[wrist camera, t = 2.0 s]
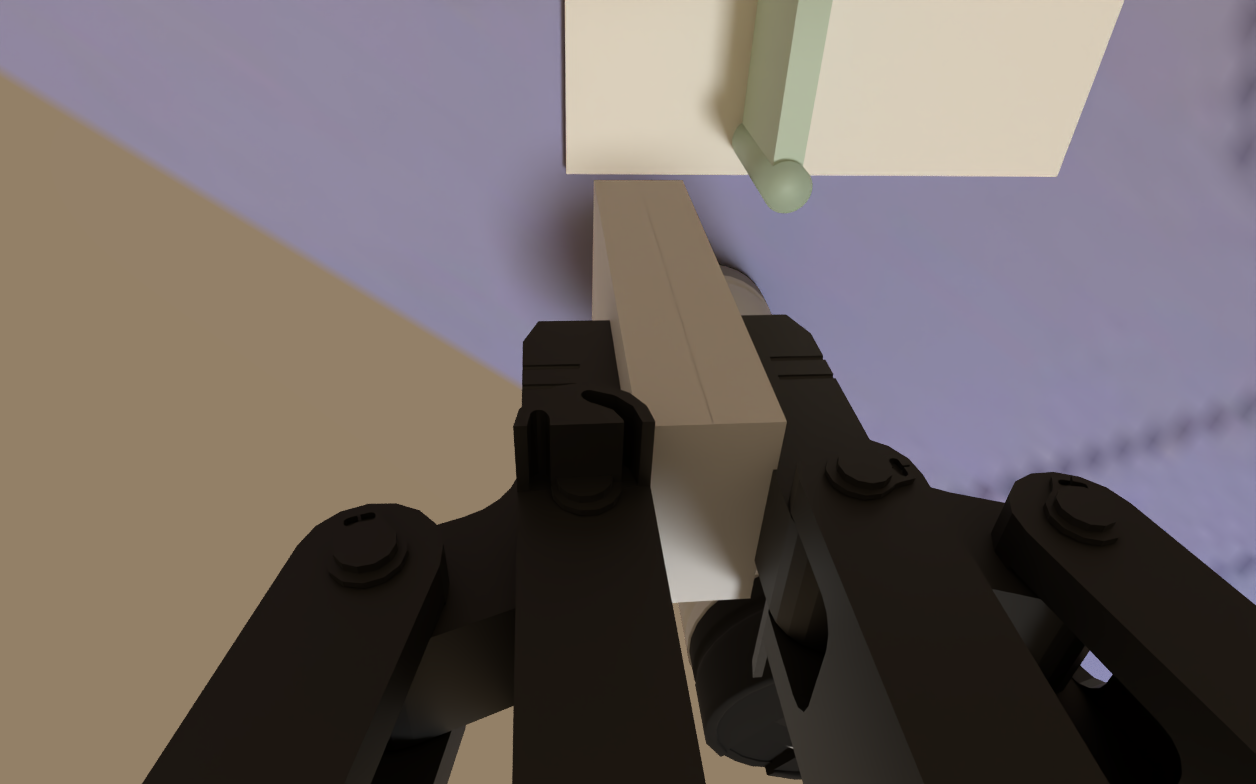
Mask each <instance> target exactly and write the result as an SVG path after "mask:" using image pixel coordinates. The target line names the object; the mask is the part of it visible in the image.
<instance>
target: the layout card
mask: <svg viewBox="0 0 1256 784" xmlns="http://www.w3.org/2000/svg"><path fill="white" fill-rule="evenodd" d="M757 2H758V0H565V105H566V174H669V175H748V173H747V171H746V170H745V168H744V166H743V165H742V163H741V162H740V160H739V158H738V157H737V155H736V153H735V152H734V150H733V146H732V138H733V134H734V132H735V130H736V129H737V127H738V126H739V125H740V124H741V123H742V121H743V113H744V105H745V97H746V89H747V81H748V73H749V65H750V57H751V49H752V42H753V34H754V26H755V18H756V10H757ZM1123 2H1124V0H833V2H832V7H831V13H830V18H829V24H828V30H827V35H826V41H825V46H824V52H823V58H822V63H821V69H820V74H819V80H818V85H817V91H816V97H815V102H814V108H813V113H812V119H811V125H810V130H809V136H808V141H807V147H806V153H805V158H804V164H803V167H804V168H805V170H806V171H807V172H808V173H809V175H849V176H1029V177H1057V175H1058V173H1059V170H1060V167H1061V165H1062V162H1063V159H1064V157H1065V154H1066V152H1067V149H1068V146H1069V144H1070V141H1071V139H1072V136H1073V133H1074V131H1075V128H1076V125H1077V123H1078V120H1079V118H1080V115H1081V112H1082V110H1083V107H1084V104H1085V102H1086V99H1087V97H1088V94H1089V91H1090V89H1091V86H1092V84H1093V81H1094V78H1095V76H1096V73H1097V70H1098V68H1099V65H1100V63H1101V60H1102V57H1103V55H1104V52H1105V50H1106V47H1107V44H1108V42H1109V39H1110V36H1111V34H1112V31H1113V29H1114V26H1115V23H1116V21H1117V18H1118V16H1119V13H1120V10H1121V8H1122V5H1123Z"/></svg>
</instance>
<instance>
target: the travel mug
mask: <svg viewBox="0 0 1256 784" xmlns="http://www.w3.org/2000/svg"><path fill="white" fill-rule="evenodd" d="M719 266H720V268H721V271H722V273H723V275H724V278H725V280H726V282H727V284H728V287H729V289H730V291H731V294H732V296H733V298H734V301H735V303H736V305H737V308H738V310H739V312H740V314H741V315H772V314H771V312H770V309H769V307H768V305H767V303H766V301H765V299H764V297H763V295H762V294H761V292H760V290H759V289H758V287H757V286H756V285H755V284H754V283H753V282H752V281H751V280H750V279H749V278H748V277H747V276H745V275H744V274H742V273H741V272H739V271H737V270H734V269H732V268H729V267H727V266H722V265H719ZM765 602H766V597H765V594H764V591H763V587H762V584H761V581H760V578H759V574H758V571H757V568H756V573H755V577H754V582H753V587H752V592H751V596H750V598H747V599H729V600H712V601H695V602H678V603H679V609H680V615H681V620H682V626H683V630H684V635H685V643H686V647H687V653H688V658H689V663H690V665H691V666H692V669H693V674H694V679H695V682H696V684H695V686H696V691H697V696H698V702H699V707H700V713H701V718H702V723H703V729H704V735H705V740H706V744H707V745H709V746H710V747H711V748H712V749H713V750H714V751H715V752H716V753H717V754H718V755H719V756H724V755H725V756H727V757H729V758H731V759H733V760H735V761H737V762H740V763H744V764H747V765H750V766H760V767H765V768H766V773H767V775H769V776H776V777H782V778H788V779H802V778H801V774H800V770H799V767H798V763H797V760H796V756H795V753H794V749H793V746H792V742H791V739H790V735H789V732H788V728H787V725H786V721H785V717H784V714H783V710H782V707H781V703H780V700H779V696H778V693H777V689H776V686H775V682H774V679H773V675H772V671H771V668H770V664H769V661H768V657H767V659H766V663H765V667H764V671H763V675H762V677H754V678H753V668H752V659H753V655H754V650H755V646H756V641H757V637H758V633H759V628H760V624H761V619H762V615H763V611H764V606H765Z"/></svg>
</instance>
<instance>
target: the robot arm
mask: <svg viewBox="0 0 1256 784" xmlns="http://www.w3.org/2000/svg"><path fill="white" fill-rule="evenodd" d="M513 430H514V446H515V462H516V477H517V478H516V480H515V482H514V484H513V485H512V487H511V488H510V489H509V490H508V491H507V492H506V493H505V494H504V495H503V496H502V497H501V498H500V499H499V500H497V501H496V502H494V503H493V504H491V505H490V506H488V507H486V508H485V509H483V510H481V511H478V512H476V513H473V514H470V515H468V516H465V517H462V518H459V519H456V520H452V521H449V522H445V523H442V524H438V525H436V524H435V523H434V522H433V521H432V520H431V519H429V518H428V517H427V516H426V515H424V514H423V513H422V512H421V511H420V510H416V509H413V508H410V507H406V506H403V505H399V504H366V505H363V506H359V507H356V508H352V509H348V510H345V511H341V512H339V513H338V514H336V515H334V516H332V517H331V518H329V519H327V520H325V521H324V522H322V523H320V524H319V525H317V526H315V527H314V528H313V529H312V530H311V532H310V533H309V534H308V535H307V536H306V537H305V538H304V539H303V540H302V541H301V542H300V543H299V544H298V545H297V547H296V548H295V550H294V551H293V553H292V555H291V556H290V558H289V559H288V561H287V562H286V564H285V565H284V567H283V568H282V570H281V571H280V573H279V574H278V576H277V578H276V579H275V581H274V582H273V584H272V585H271V587H270V588H269V590H268V591H267V593H266V594H265V596H264V597H263V599H262V600H261V602H260V604H259V605H258V607H257V608H256V610H255V611H254V613H253V614H252V616H251V617H250V619H249V620H248V622H247V624H246V625H245V627H244V628H243V630H242V631H241V633H240V634H239V636H238V637H237V639H236V641H235V642H234V643H233V645H232V647H231V648H230V650H229V651H228V653H227V654H226V656H225V657H224V659H223V660H222V662H221V663H220V665H219V666H218V668H217V670H216V671H215V673H214V674H213V676H212V677H211V679H210V680H209V682H208V683H207V685H206V686H205V688H204V690H203V691H202V693H201V694H200V696H199V697H198V699H197V700H196V702H195V703H194V705H193V707H192V708H191V709H190V711H189V713H188V714H187V716H186V717H185V719H184V720H183V722H182V723H181V725H180V726H179V728H178V729H177V731H176V732H175V734H174V736H173V737H172V739H171V740H170V742H169V743H168V745H167V746H166V748H165V749H164V751H163V752H162V754H161V756H160V757H159V759H158V760H157V762H156V763H155V765H154V766H153V768H152V769H151V771H150V772H149V774H148V775H147V777H146V779H145V780H144V782H143V783H142V784H447V783H448V779H449V777H450V773H451V770H452V767H453V764H454V761H455V758H456V755H457V752H458V749H459V746H460V743H461V740H462V737H463V734H464V731H465V726H466V725H467V724H469V723H472V722H474V721H477V720H479V719H482V718H484V717H487V716H489V715H492V714H494V713H497V712H499V711H502V710H504V709H507V708H509V707H511V706H514V718H513V776H512V780H513V781H512V784H706V783H705V778H704V772H703V767H702V761H701V756H700V750H699V745H698V739H697V734H696V729H695V724H694V718H693V713H692V707H691V702H690V697H689V691H688V686H687V680H686V675H685V670H684V664H683V659H682V653H681V648H680V643H679V638H678V632H677V627H676V621H675V617H674V610H673V605H672V603H677V602H695V601H712V600H729V599H747V598H750V596H751V592H752V587H753V582H754V577H755V573H756V568H757V571H758V574H759V578H760V581H761V584H762V587H763V591H764V594H765V597H766V602H765V606H764V611H763V615H762V619H761V624H760V628H759V633H758V637H757V641H756V646H755V650H754V655H753V659H752V668H753V678H754V677H762V675H763V671H764V667H765V663H766V659H767V657H768V661H769V664H770V668H771V671H772V675H773V679H774V682H775V686H776V689H777V693H778V696H779V700H780V703H781V707H782V710H783V714H784V717H785V721H786V725H787V728H788V732H789V735H790V739H791V742H792V746H793V749H794V753H795V756H796V760H797V763H798V767H799V770H800V774H801V778H802V781H803V784H1256V605H1255V604H1253V603H1252V602H1251V601H1250V600H1249V599H1247V598H1246V597H1245V596H1244V595H1242V594H1241V593H1240V592H1239V591H1238V590H1236V589H1235V588H1234V587H1233V586H1231V585H1230V584H1229V583H1228V582H1227V581H1225V580H1224V579H1223V578H1222V577H1220V576H1219V575H1218V574H1217V573H1215V572H1214V571H1213V570H1212V569H1211V568H1209V567H1208V566H1207V565H1206V564H1204V563H1203V562H1202V561H1201V560H1200V559H1198V558H1197V557H1196V556H1195V555H1193V554H1192V553H1191V552H1190V551H1189V550H1187V549H1186V548H1185V547H1184V546H1182V545H1181V544H1180V543H1179V542H1177V541H1176V540H1175V539H1174V538H1173V537H1171V536H1170V535H1169V534H1168V533H1166V532H1165V531H1164V530H1163V529H1162V528H1160V527H1159V526H1158V525H1157V524H1155V523H1154V522H1153V521H1152V520H1151V519H1149V518H1148V517H1147V516H1146V515H1144V514H1143V513H1142V512H1141V511H1140V510H1138V509H1137V508H1136V507H1135V506H1133V505H1132V504H1131V503H1129V502H1128V501H1126V500H1125V499H1123V498H1122V497H1120V496H1119V495H1117V494H1116V493H1114V492H1113V491H1111V490H1109V489H1108V488H1106V487H1104V486H1101V485H1099V484H1096V483H1094V482H1091V481H1089V480H1086V479H1084V478H1081V477H1078V476H1072V475H1067V474H1061V473H1056V472H1047V473H1033V474H1029V475H1027V476H1025V477H1023V478H1021V479H1019V480H1017V481H1015V483H1014V485H1013V487H1012V489H1011V491H1010V493H1009V495H1008V497H1007V500H1006V502H1005V503H1002V502H997V501H992V500H987V499H981V498H976V497H971V496H966V495H960V494H955V493H950V492H946V491H942V490H939V489H935V488H931V487H930V486H929V484H928V482H927V481H926V479H925V477H924V476H923V474H922V473H921V472H920V471H919V470H918V469H917V468H916V466H915V465H914V464H913V463H912V462H911V461H910V460H909V459H908V458H907V457H905V456H904V455H902V454H900V453H899V452H897V451H895V450H894V449H892V448H891V447H889V446H887V445H884V444H881V443H878V442H875V441H872V440H870V439H869V438H868V436H867V434H866V432H865V430H864V429H863V427H862V425H861V423H860V421H859V420H858V418H857V416H856V414H855V412H854V411H853V409H852V407H851V405H850V403H849V402H848V400H847V398H846V396H845V394H844V393H843V391H842V389H841V387H840V385H839V384H838V382H837V380H836V378H833V373H832V371H831V369H830V367H829V366H828V364H827V362H826V360H823V355H822V353H821V351H820V349H819V348H818V346H817V344H816V342H815V340H814V339H813V337H812V335H811V333H809V332H808V331H807V330H805V329H804V328H803V327H802V326H800V325H799V324H798V323H796V322H795V321H794V320H792V319H791V318H790V317H788V316H787V315H741V314H740V312H739V310H738V308H737V305H736V303H735V301H734V298H733V296H732V294H731V291H730V289H729V287H728V284H727V282H726V280H725V278H724V275H723V273H722V271H721V268H720V266H719V264H718V261H717V259H716V257H715V254H714V252H713V250H712V247H711V245H710V243H709V241H708V238H707V236H706V234H705V231H704V229H703V227H702V224H701V222H700V220H699V217H698V215H697V213H696V211H695V208H694V206H693V204H692V201H691V199H690V197H689V194H688V192H687V190H686V187H685V185H684V183H683V180H594V213H593V283H592V321H538V323H537V324H536V325H535V327H534V328H533V329H532V331H531V332H530V333H529V335H528V336H527V337H526V339H525V340H524V341H523V372H522V407H521V408H520V409H519V411H518V414H517V417H516V420H515V423H514V426H513ZM1089 651H1091V652H1092V653H1093V654H1094V655H1095V656H1096V657H1097V658H1098V659H1099V660H1100V661H1101V662H1102V663H1103V664H1104V666H1105V667H1106V668H1107V669H1108V670H1109V671H1110V672H1111V673H1112V674H1113V675H1112V676H1111V678H1110V679H1109V680H1108V682H1103V681H1101V680H1098V679H1096V678H1094V677H1093V676H1091V675H1090V674H1089V673H1088V672H1087V671H1086V670H1084V669H1083V668H1082V667H1081V666H1080V664H1081V663H1082V661H1083V660H1084V658H1085V657H1086V655H1087V654H1088V652H1089Z"/></svg>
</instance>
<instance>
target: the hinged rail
mask: <svg viewBox="0 0 1256 784" xmlns="http://www.w3.org/2000/svg"><path fill="white" fill-rule="evenodd" d="M832 2H833V0H758V2H757V10H756V18H755V26H754V34H753V42H752V49H751V57H750V65H749V73H748V81H747V89H746V97H745V105H744V113H743V121H742V123H741V124H740V125H739V126H738V127H737V129H736V130H735V132H734V134H733V138H732V146H733V150H734V152H735V153H736V155H737V157H738V158H739V160H740V162H741V163H742V165H743V166H744V168H745V170H746V171H747V173H748V175H749V176H750V178H751V180H752V181H753V183H754V184H755V186H756V188H757V189H758V191H759V193H760V194H761V196H762V197H763V199H764V201H765V202H766V204H767V205H768V207H769V208H770V209H772V210H773V211H775V212H778V213H790V212H793V211H796V210H798V209H799V208H801V207H802V206H803V205H804V204H805V203H806V202H807V200H808V199H809V197H810V195H811V192H812V179H811V177H810V175H809V173H808V172H807V171H806V170H805V168H804V167H803V164H804V158H805V153H806V147H807V141H808V136H809V130H810V125H811V119H812V113H813V108H814V102H815V97H816V91H817V85H818V80H819V74H820V69H821V63H822V58H823V52H824V46H825V41H826V35H827V30H828V24H829V18H830V13H831V7H832Z"/></svg>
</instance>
